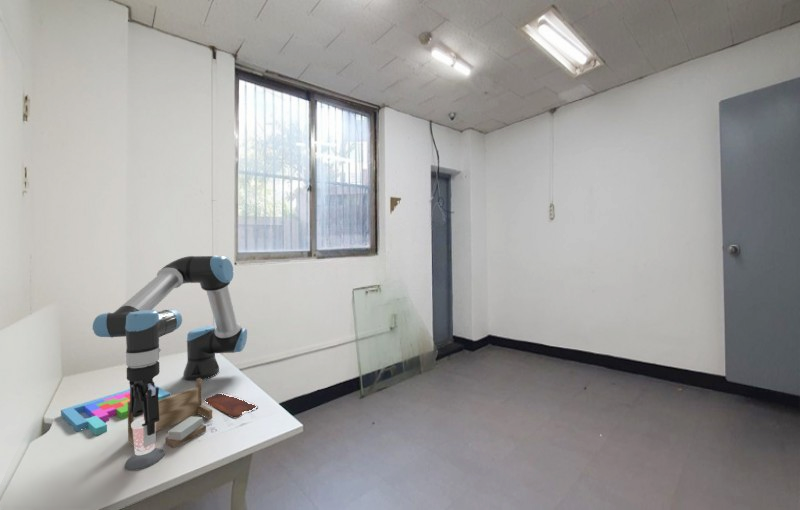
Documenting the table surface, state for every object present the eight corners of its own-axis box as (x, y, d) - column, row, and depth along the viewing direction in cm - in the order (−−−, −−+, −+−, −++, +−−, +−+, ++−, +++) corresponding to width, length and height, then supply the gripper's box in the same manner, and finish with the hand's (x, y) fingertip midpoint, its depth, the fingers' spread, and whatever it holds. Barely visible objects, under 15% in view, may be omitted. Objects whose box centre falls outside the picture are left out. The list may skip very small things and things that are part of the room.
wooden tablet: (260, 409, 124) (260, 405, 124) (234, 420, 115) (234, 416, 115) (224, 392, 138) (224, 388, 138) (200, 401, 130) (200, 397, 130)
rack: (200, 411, 121) (199, 378, 121) (212, 417, 116) (211, 382, 116) (128, 441, 102) (127, 401, 102) (139, 450, 98) (138, 408, 97)
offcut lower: (197, 429, 110) (197, 422, 110) (206, 432, 108) (205, 425, 108) (165, 445, 101) (165, 437, 101) (174, 449, 99) (174, 441, 99)
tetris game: (61, 417, 118) (84, 441, 103) (60, 409, 118) (84, 432, 103) (150, 388, 142) (180, 405, 127) (150, 382, 142) (179, 398, 127)
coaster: (156, 446, 99) (156, 444, 99) (169, 456, 95) (169, 454, 95) (119, 463, 92) (119, 461, 92) (132, 474, 87) (132, 472, 87)
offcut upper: (190, 423, 109) (190, 416, 109) (202, 424, 108) (202, 417, 108) (168, 439, 100) (168, 431, 100) (180, 440, 99) (180, 432, 99)
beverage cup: (144, 458, 90) (143, 409, 89) (125, 456, 91) (124, 408, 90) (163, 444, 96) (162, 399, 96) (145, 443, 97) (144, 398, 96)
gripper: (173, 365, 91) (174, 444, 91) (144, 354, 101) (146, 425, 101) (141, 374, 84) (143, 459, 85) (114, 361, 94) (116, 437, 95)
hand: (144, 440), depth 93 cm, fingers closed on beverage cup, 6 cm apart
